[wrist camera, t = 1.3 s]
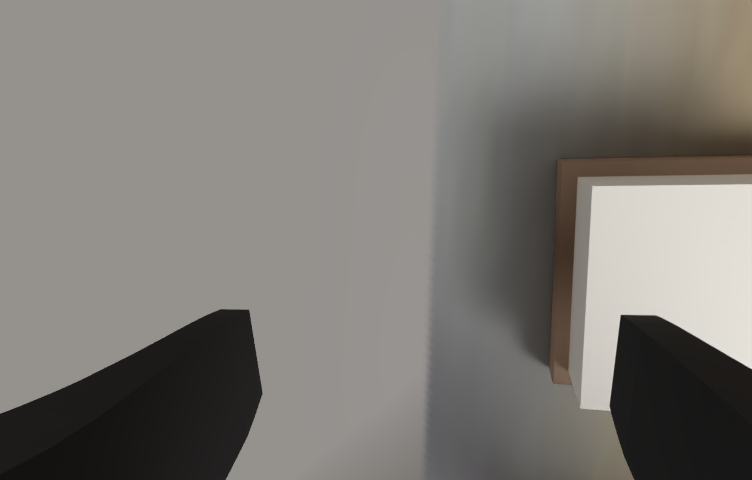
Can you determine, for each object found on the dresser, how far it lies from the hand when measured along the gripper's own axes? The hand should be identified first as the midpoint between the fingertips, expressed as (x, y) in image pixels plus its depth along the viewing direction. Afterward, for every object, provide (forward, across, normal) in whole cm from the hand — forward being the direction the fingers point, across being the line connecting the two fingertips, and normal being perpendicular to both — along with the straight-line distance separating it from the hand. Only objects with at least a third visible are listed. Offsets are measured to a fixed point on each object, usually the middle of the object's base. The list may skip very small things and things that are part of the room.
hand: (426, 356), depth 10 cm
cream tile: (+8, -8, +2) cm, 11 cm away
